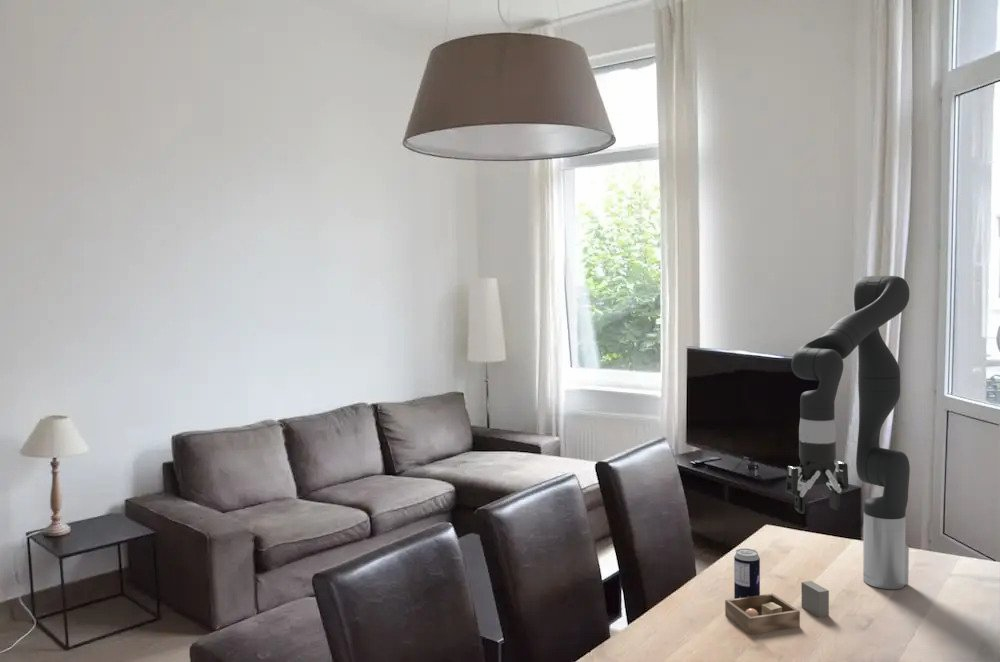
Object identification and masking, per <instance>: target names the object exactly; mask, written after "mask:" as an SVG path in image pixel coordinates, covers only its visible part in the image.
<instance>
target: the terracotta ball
mask: <svg viewBox="0 0 1000 662" xmlns="http://www.w3.org/2000/svg"><path fill="white" fill-rule="evenodd" d="M745 613H747V614H748V615H749V616H751V617H753V616H759V614H758V612H757V611H756V610H755V609H753V608H749V609H747V610H746V611H745Z"/></svg>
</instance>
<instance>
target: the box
mask: <svg viewBox="0 0 1000 662" xmlns="http://www.w3.org/2000/svg"><path fill="white" fill-rule="evenodd" d="M771 602H773V603H775V604H777V605H779V606H781V607H782V612H781V613H774V614H767V615H762V605H763V604H767V603H771ZM724 603H725V604H724V606H725V607H724V611H725V613H724V615H725V617H727V618H728V619H729V620H730V621H732V622H734V624H736V625H737V626H739V627H740V628H741V629H743V630H744V631H745V632H747V633H748V634H749V635H756V634H761V633H762V634H763V633H769V632H774V631H780V630H787V629H794V628H795V629H797V628H800V627H801V618H800V617H801V616H800V615H801V613H800V612H801V611H800V610H799V609H797V608H796V607H794V606H792V605H791V604H789V602H786V601H785V600H783V599H782V598H780V597H779V596H778V595H776V594H774V593H768V594H766V593H765V594H760V595H759V596H751V597H744V598H737V599H735V598H731V599H725V601H724ZM749 608H753V609H755V610H756V611H757V612H758V614H759V616H753V617H751V616H749V615H748V614H747V613H745V611H746V610H747V609H749Z"/></svg>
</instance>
